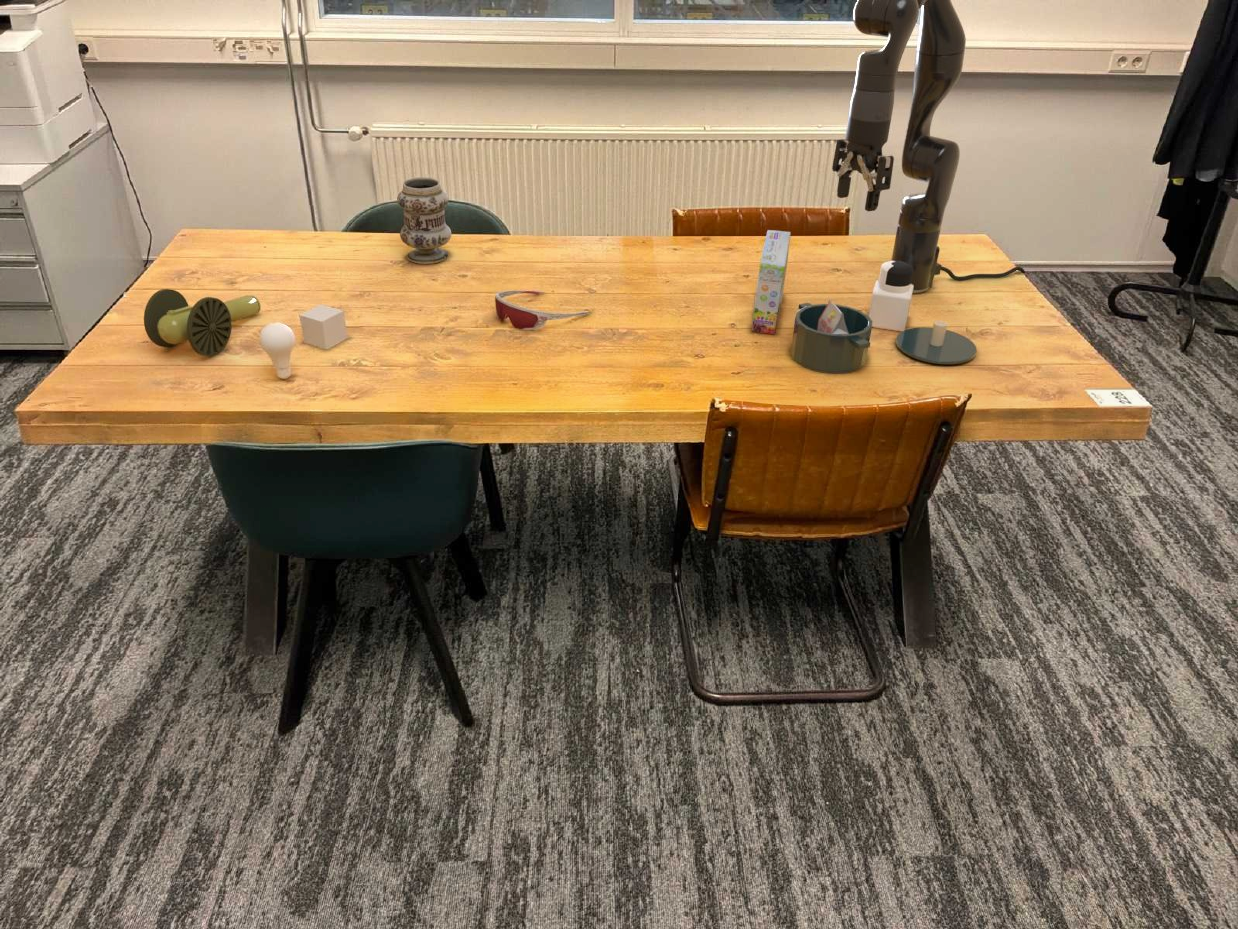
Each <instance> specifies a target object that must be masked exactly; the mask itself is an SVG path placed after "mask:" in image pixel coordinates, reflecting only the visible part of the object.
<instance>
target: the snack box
mask: <svg viewBox="0 0 1238 929" xmlns="http://www.w3.org/2000/svg"><path fill="white" fill-rule="evenodd" d="M791 234H792V233H791V231H785V230H784V231H782V230H774V229H773V230H772V229H767V231H766V235H765V239H764V244H763V248H762V252H761V257H760V263H759V270H758V277H757V284H756V291H755V296H754V297H755V298H754V299H755V300H754V306H753V316H752V324H751V330H750V331H751V332H755V333H762V334H769V335H775V334H776V330H777V326H778V322H779V317H780V311H781V306H782V303H783V302H782V301H783V295H784V290H785V283H786V274H787V267H788V259H789V252H790V242H791Z"/></svg>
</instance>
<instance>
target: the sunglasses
mask: <svg viewBox="0 0 1238 929" xmlns="http://www.w3.org/2000/svg"><path fill="white" fill-rule="evenodd" d="M519 294H529V295H541V294H542V291H539V290H531V289H530V290H528V289H527V290H526V289H522V290H518V289H517V290H516V289H515V290H503V291H499V292H496V293H495V296H494V302H495V313H496V318H497V319H498V320H499V321H500V322H502V323H503V322H504V323H505V321H506V319H508V320H509V322H510V323H511V325H512V326H513V328H514V329H517V330H522V331H535V330H539V329H540V328H542V327H544V326H546V324H547V322H548V321H554V320H555V321H557V320H563V319H569V318H572V317H580V316H587V315H588V313H589V310H584V311H578V312H569V313H568V312H567V313H566V312H565V313H563V312H562V313H561V312H547V311H542V310H537V309H532V308H527V307H524V306H520V305H517V304H514V303H511V302H509V301H507V300H505V299H504V298H506V297H509V296H512V295H519Z"/></svg>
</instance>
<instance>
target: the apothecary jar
mask: <svg viewBox="0 0 1238 929" xmlns="http://www.w3.org/2000/svg"><path fill="white" fill-rule="evenodd" d="M398 193H399V194H398V195H397V197H396V203H397V205H398V206H399V208H401V209H402V210H403V224H404V225H403V226H402V227H401V229H400V230H399V237H400V240H401V241H402V243H404V244H405V245H407V246H408V247H410V248H411V249H414V250H411V251H410V252H408V253H407V256H406V260H408V261H409V262H410V263H414V264H419V265H434V264H439V263H442V262H444V261H446V260H447V258H448V257H449V255H450V254H449V253H448V252H447V251H446V250H444V249H442V248H441V247H443V246H445V245H447V243H448V242H449V241H450V240H451V238H452V230H451V228H450V227H449V226H448V224H446V215H445V208H446V207H447V206H448V204H449V195H448V193H447V192H446V191H445V190H444V189H443V188H442V185H441V182H440V181H439V180H438V179H436V178H433V177H412V178H408V179H406V180H405V181H403V183H402V189H401V191H400V192H398Z"/></svg>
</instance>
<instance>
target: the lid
mask: <svg viewBox="0 0 1238 929" xmlns="http://www.w3.org/2000/svg"><path fill="white" fill-rule="evenodd" d="M895 343H896V346H897V348H898V349H899V350H900V351H901V352H902V353H903V354H905V355H907V356H909V357H911V358H913V359H915V360H918V361H922V362H926V363H931V364H938V365H959V364H963V363H967V362H970V361H971V360H973V359H974V358H975V357H976V356H977V351H978V350H977V345H976V344H975V343H974V342H973V341H972V340H971V339H970V338H968V337H967V336H964V335H963V334H960V333H958V332H955V331H952V330H948V322H946V321H944V320H935V321H934V322H933V325H932V326H931V327H930V326H929V327H927V326H920V327H919V326H918V327H912V328H907V329H905V330H904V331H902V332H899V333H898V334H897V336H896V339H895Z"/></svg>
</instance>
